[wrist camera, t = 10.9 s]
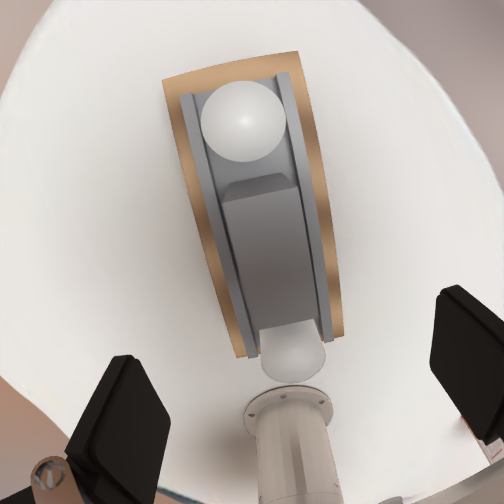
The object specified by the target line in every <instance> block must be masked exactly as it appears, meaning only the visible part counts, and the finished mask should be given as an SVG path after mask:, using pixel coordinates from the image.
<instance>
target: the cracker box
mask: <svg viewBox="0 0 504 504" xmlns="http://www.w3.org/2000/svg"><path fill="white" fill-rule="evenodd" d="M462 418H463V416H462ZM463 420H464V418H463ZM464 422H465V423H466V421H465V420H464ZM466 425H467V426H468V424H467V423H466ZM468 428H469V430H470V431H471V433H472V434H473V432H472V430H471V429H470V427H469V426H468ZM473 436H474V438H475V439H476V441H477V443H478V444H479V446H480V448H481V449H482V451H483V453H484V454H485V456H486V458H487V460H488V461H489V463H490V465H492V464H493V463H495V462H497V461H498V460H500V456H501V451H502V446H503V441H502V440H501V438H499V439H497V440H496V441H494V442H492V443H491V444H489V445H487V446H485V444H484V442H483V441H482V440H478V439H477V438H476V437H475V435H474V434H473Z"/></svg>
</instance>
